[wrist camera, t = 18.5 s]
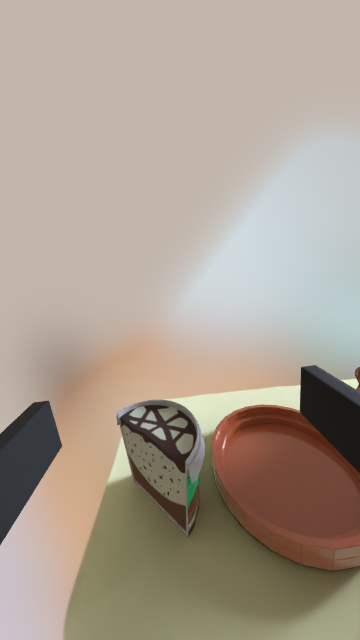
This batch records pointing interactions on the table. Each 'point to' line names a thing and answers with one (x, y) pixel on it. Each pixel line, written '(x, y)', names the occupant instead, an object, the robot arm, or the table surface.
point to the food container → (165, 456)
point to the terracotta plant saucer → (288, 486)
